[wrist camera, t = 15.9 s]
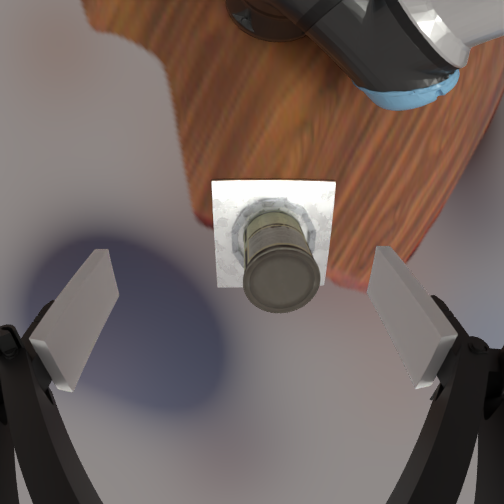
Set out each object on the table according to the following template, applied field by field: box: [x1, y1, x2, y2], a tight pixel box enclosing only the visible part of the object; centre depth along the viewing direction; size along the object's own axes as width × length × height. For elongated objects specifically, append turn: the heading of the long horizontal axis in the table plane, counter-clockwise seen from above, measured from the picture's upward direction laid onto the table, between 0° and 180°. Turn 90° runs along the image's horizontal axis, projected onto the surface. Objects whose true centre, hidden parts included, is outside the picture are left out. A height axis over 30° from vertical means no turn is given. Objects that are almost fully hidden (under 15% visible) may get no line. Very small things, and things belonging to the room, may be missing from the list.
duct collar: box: [212, 179, 336, 287], centre depth 53 cm, size 20×20×2 cm
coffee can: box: [243, 210, 321, 313], centre depth 47 cm, size 10×10×14 cm
